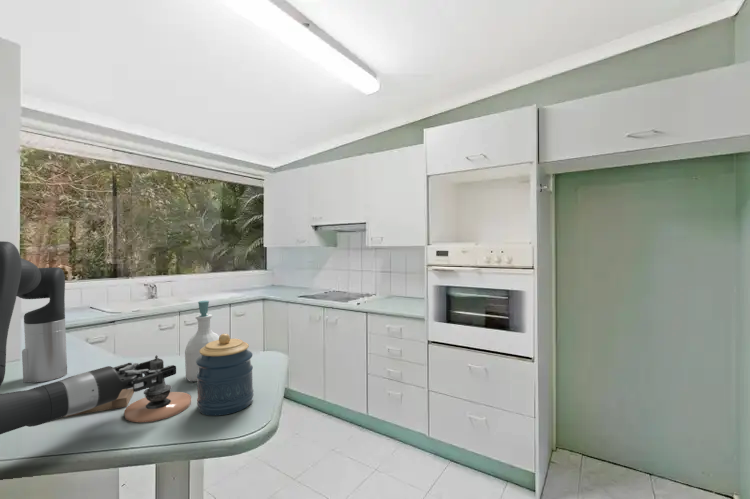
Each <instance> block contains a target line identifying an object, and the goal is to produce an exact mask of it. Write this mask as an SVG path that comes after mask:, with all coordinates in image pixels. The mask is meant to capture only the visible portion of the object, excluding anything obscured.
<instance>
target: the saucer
mask: <svg viewBox="0 0 750 499" xmlns="http://www.w3.org/2000/svg"><path fill="white" fill-rule="evenodd" d="M167 399H170V400H171V402H170V404H168V405H166V406H164V407H161V408H157V409H147V408H146V405H147V404H148V403H149V402H150V401H149V400H147V398H146V397H145V396H144V397H142V398H140V399H137V400H136V401H134V402H132V403H131V404H130V403H129V405H127V407H126V408H125V410H124V419H125V420H127V421H129V422H132V423H150V422H156V421H160V420H165V419H168V418H171V417H174V416H177V415H178V414H180V413H182V412H184V411H186V410H187V409H188V408H189V407H190V406H192V396H191V395H190V394H189V393H186V392H182V391H170V393H169V395H168V397H167Z"/></svg>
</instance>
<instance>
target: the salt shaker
mask: <svg viewBox="0 0 750 499" xmlns="http://www.w3.org/2000/svg"><path fill="white" fill-rule="evenodd" d="M151 360H152V361H151V362H150V371H152V370H158V369H162V368H165V367H164V360H163V359H162V358H160V357H159V356H158V355H155V357H154V359H151ZM149 375H150V374H149ZM152 379H155V377H153V378H152ZM165 379H166V378H163V383H162V384H159V385H156V386H153V387H150V388H146V389H144V390H143V395H144V398H145V397H146V398H147V400H149V401H150V402H149V403H148V404H147V405H146V408H147V409H157V408H161V407H164V406H166V405H168V404H170V402H171V400H170V399H167V397H168V395H169V393H170V392H171V390H172V385H170V384H167V383H166V380H165ZM152 383H153V382H152Z"/></svg>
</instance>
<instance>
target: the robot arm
mask: <svg viewBox="0 0 750 499" xmlns="http://www.w3.org/2000/svg"><path fill="white" fill-rule="evenodd" d="M65 290H66V276H65V272H64V270H63V269H62V268H61V267H57V266H56V267H38V266H37V265H36V264H34V263H33V262H31V261H29V260H26V259H25V258H21V254H20V252H19V249H18V248H17V247H16V246H15V244H14V243H13V242H11V241H0V387H1V386H2V384H3V382H4V379H5V375H6V365H7V363H6V361H7V344H8V335H9V334H8V333H9V329H10V324H11V320H12V316H13V313H14V308H15V305H16V301H17V297H18V298H20V299H23V300H37V299H38V300H39V299H49V300H48V301H49V302H47V303H46V304H45V305H43V306H42V307H39V308H35V309H33V310H30V311H28V312H26V313H25V314H24V315H23V328H24V331H23V332H24V349H22V350H21V356H22V357H21V358H22V359H21V360H22V382H23V383H42V382H47V381H52V380H56V379H59V378H61V377H64V376H65V375H67V374H68V363H67V362H68V361H67V360H68V359H67V358H68V357H67V334H66V333H67V332H66V313H65V312H66V310H65V309H66V307H65V305H66V304H65V298H66V297H65V294H66V291H65ZM152 360H153V359H150V360H147V361H143V362H135V363H133V362H127V363H124V364H121V365H118V366H115V367H113V366H108V365H107V366H103V367H100V368H96V369H93V370H89V371H86V372H82V373H79V374H74V375H70V376H68V377H66V378H63V379H61V380H57V381H54V382H50V383H47V384H43V385H39V386H37V387H33V388H30V389H26V390H18V391H17V390H16V391H11V392H5V393H4V392H3V393H0V435H3V434H6V433H9V432H12V431H15V430H18V429H21V428H23V427H28V428H29V427H30V428H31V427H36V426H40V425H43V424H46V423H50V422H52V421H55V420H58V419H60V418H61V417H62V418H65V417H64V416H67V415H72V414H76V413H79V412H82V411H85V410H88V409H91V408H94V407H97V406H100V405H103V404H105V403H108V402H111V401H114V400H116V399H117V398H118V396H119V394H120V392H121V391H122V390H123V389H133V392H134V393H136V392H137V393H138V392H140V391H144V390H146V389H148V388H150V387H153V386H156V385H159V384H162V383H163V378H164V379H166V378H168V377H172V376H175V375H176V374H177V366H176V365H174V364H173V365H169V366H165V367H164V368H162V369H158V370H152V371H150V362H151V361H152ZM149 374H150V375H149ZM153 377H155V379H152V378H153ZM152 382H153V383H152Z"/></svg>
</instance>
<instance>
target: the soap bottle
mask: <svg viewBox="0 0 750 499" xmlns="http://www.w3.org/2000/svg"><path fill="white" fill-rule="evenodd" d="M209 302H210V301H209V300H200V301H197V303H198V308H199V313H200V314H199V315H195V319H196V320H197V327H198V328H197V331H196V333H195V334H194V335H192V336H191V338H189V340H188V342H187V344H186V347H185V350H184V360H185V361H184V362H185V363H184V364H185V366H184V367H185V368H184V369H185V378H186V379H187V380H188V382H193V383H194V382H197V377H196V374H197V372H198V368H199V366H198V365H197V364H196V360H197V359H198V358H199V357H200V356H201V354H200V352H199V351H200V349H201V348H203V347H204V346H206V344H208V343H210V342H212V341H216V340H219V337H220V335H219V334H218V333H216V332H214V331H213V330H212V328H211V319H212V318H213V314H208V312H209Z"/></svg>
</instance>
